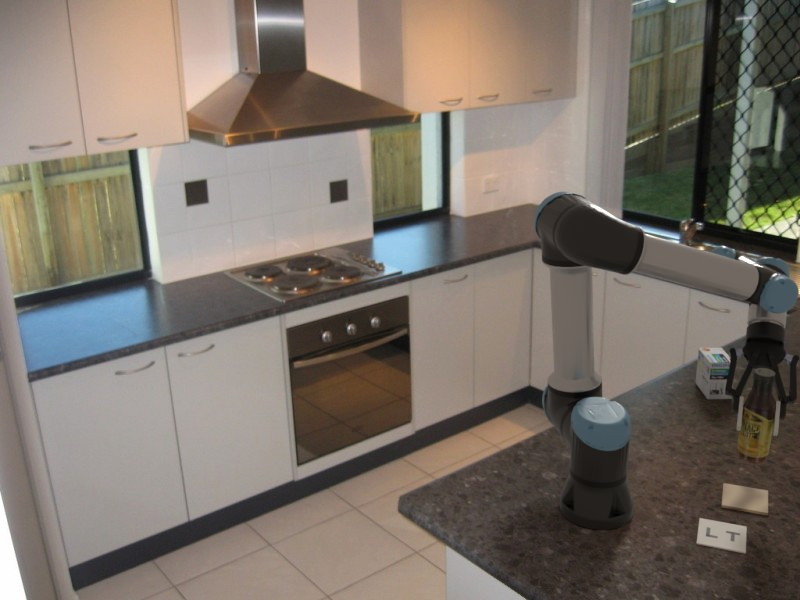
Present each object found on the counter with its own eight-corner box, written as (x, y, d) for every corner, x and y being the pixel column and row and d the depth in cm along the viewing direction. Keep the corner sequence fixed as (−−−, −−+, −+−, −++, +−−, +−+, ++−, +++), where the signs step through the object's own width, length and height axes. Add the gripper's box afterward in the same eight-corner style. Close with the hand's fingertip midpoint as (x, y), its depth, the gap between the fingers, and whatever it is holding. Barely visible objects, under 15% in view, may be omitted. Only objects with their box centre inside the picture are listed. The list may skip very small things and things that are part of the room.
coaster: (721, 507, 178) (721, 504, 178) (723, 485, 186) (723, 483, 186) (767, 515, 175) (768, 513, 175) (767, 492, 183) (767, 490, 182)
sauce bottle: (729, 453, 179) (738, 367, 172) (752, 446, 181) (762, 361, 174) (753, 468, 173) (763, 380, 166) (776, 461, 175) (787, 373, 169)
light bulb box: (732, 399, 225) (736, 362, 221) (706, 400, 225) (710, 362, 221) (718, 382, 235) (722, 346, 231) (694, 383, 235) (697, 347, 231)
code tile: (696, 544, 166) (696, 542, 166) (699, 519, 174) (699, 517, 174) (745, 553, 163) (745, 552, 163) (746, 527, 171) (746, 526, 171)
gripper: (813, 339, 180) (807, 444, 171) (717, 329, 187) (706, 429, 178) (818, 325, 173) (811, 432, 164) (718, 315, 180) (707, 418, 171)
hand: (757, 430), depth 171 cm, fingers closed on sauce bottle, 6 cm apart
